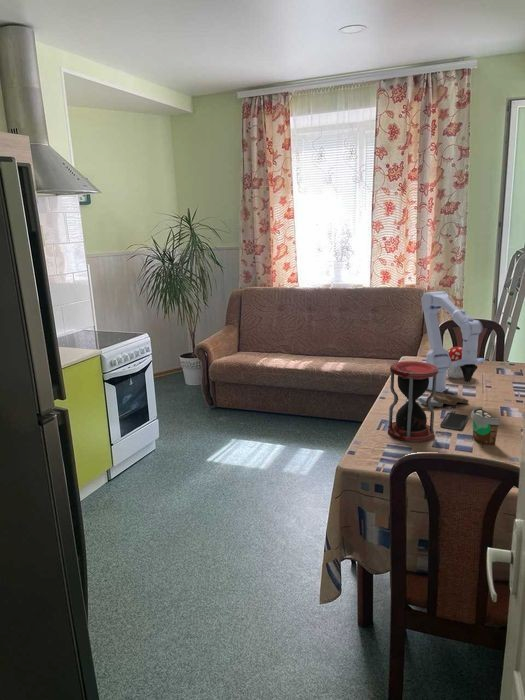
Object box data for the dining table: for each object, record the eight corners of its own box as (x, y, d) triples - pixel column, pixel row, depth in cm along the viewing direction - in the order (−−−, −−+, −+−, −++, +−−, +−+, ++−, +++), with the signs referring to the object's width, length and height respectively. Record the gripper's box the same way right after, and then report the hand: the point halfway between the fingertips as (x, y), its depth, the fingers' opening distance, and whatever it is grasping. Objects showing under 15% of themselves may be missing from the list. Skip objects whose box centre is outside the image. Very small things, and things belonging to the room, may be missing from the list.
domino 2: (442, 407, 210) (424, 405, 208) (435, 403, 215) (419, 401, 213) (443, 403, 210) (425, 401, 208) (436, 399, 215) (419, 397, 213)
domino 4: (467, 403, 214) (451, 401, 211) (460, 400, 218) (444, 397, 215) (468, 400, 213) (453, 397, 211) (461, 396, 218) (445, 393, 215)
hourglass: (390, 422, 196) (393, 359, 190) (435, 427, 190) (439, 362, 184) (384, 438, 182) (387, 371, 175) (432, 445, 176) (436, 375, 170)
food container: (462, 433, 185) (464, 407, 182) (479, 432, 185) (481, 406, 183) (479, 447, 173) (482, 420, 170) (497, 446, 173) (500, 419, 171)
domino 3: (455, 405, 212) (439, 402, 209) (448, 401, 216) (432, 399, 214) (456, 402, 212) (441, 399, 209) (449, 398, 216) (434, 395, 214)
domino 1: (433, 410, 209) (416, 412, 207) (427, 406, 214) (410, 408, 211) (434, 406, 209) (417, 408, 207) (427, 402, 213) (410, 404, 211)
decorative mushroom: (439, 379, 246) (441, 349, 242) (441, 371, 259) (443, 342, 255) (470, 382, 241) (473, 351, 237) (471, 374, 253) (473, 344, 250)
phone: (439, 425, 190) (448, 412, 203) (439, 428, 191) (448, 414, 203) (462, 429, 186) (469, 415, 199) (461, 432, 187) (469, 418, 199)
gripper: (461, 353, 205) (458, 386, 208) (491, 350, 209) (488, 382, 212) (450, 349, 211) (447, 381, 215) (479, 346, 215) (476, 377, 219)
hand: (467, 381), depth 214 cm, fingers closed
